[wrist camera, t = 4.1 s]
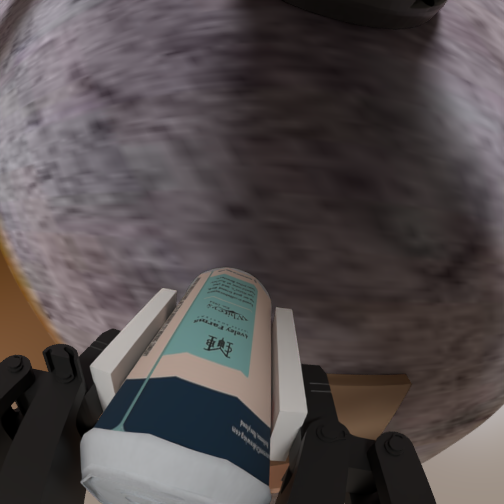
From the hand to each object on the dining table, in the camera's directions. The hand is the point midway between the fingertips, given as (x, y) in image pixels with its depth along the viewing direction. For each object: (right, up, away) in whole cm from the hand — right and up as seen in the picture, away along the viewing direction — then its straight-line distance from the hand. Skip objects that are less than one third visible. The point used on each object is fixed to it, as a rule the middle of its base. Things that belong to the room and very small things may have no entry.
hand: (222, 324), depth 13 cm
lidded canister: (0, +1, +2) cm, 2 cm away
